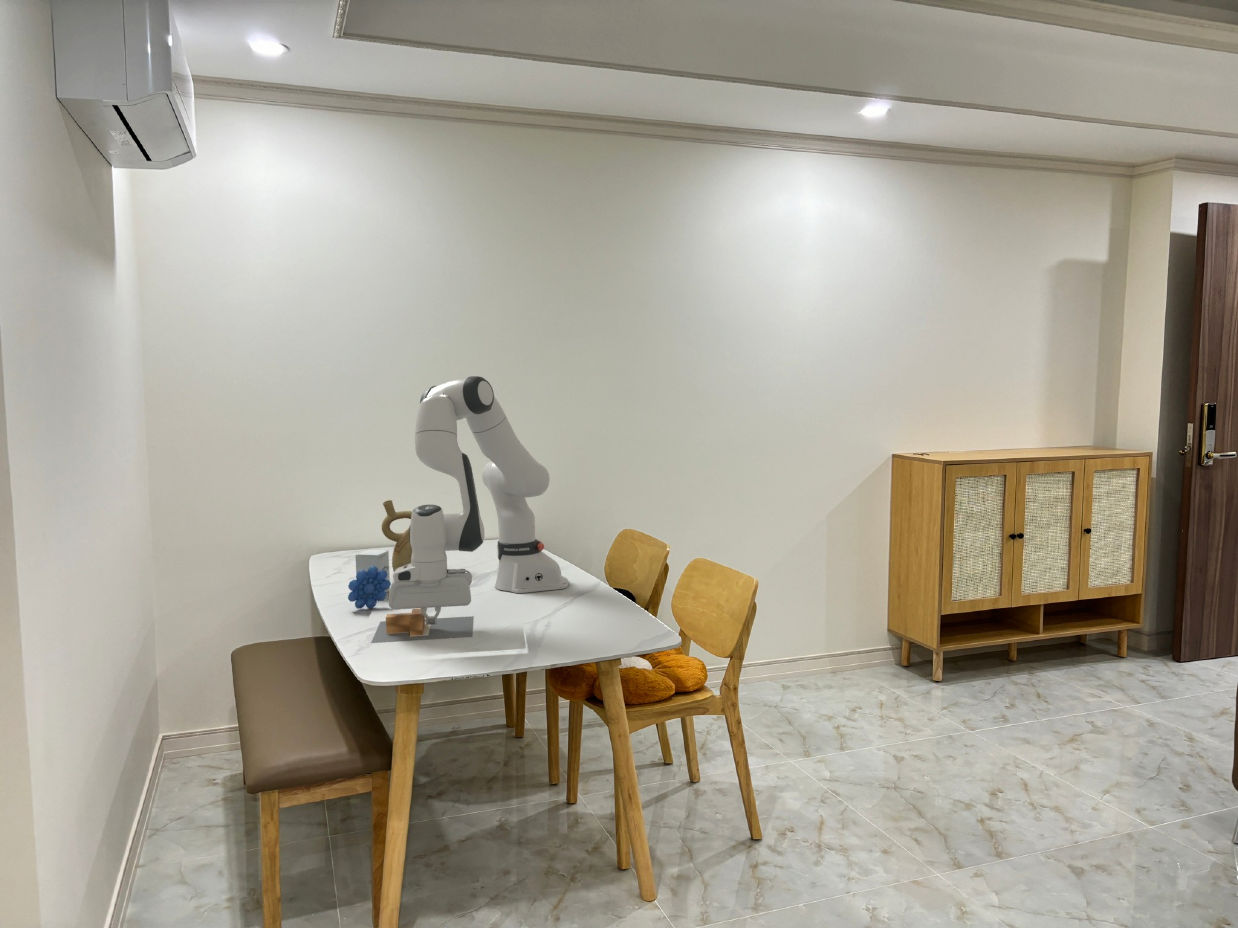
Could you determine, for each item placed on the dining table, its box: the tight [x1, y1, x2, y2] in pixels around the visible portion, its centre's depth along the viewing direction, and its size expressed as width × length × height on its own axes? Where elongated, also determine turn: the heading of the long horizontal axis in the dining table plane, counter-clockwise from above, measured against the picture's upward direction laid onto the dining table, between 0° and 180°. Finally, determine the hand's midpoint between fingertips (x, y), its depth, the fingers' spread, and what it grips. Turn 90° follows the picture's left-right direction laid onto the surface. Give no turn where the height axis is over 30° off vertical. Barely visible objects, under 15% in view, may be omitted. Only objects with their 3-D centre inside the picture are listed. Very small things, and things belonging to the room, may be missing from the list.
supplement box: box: [355, 549, 391, 593], centre depth 255 cm, size 7×7×13 cm
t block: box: [385, 608, 426, 636], centre depth 215 cm, size 9×10×4 cm
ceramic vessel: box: [381, 499, 413, 572], centre depth 278 cm, size 17×20×25 cm
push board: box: [370, 615, 474, 644], centre depth 216 cm, size 24×18×1 cm
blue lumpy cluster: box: [347, 566, 392, 610], centre depth 239 cm, size 12×7×12 cm, turn 110°
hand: (431, 624), depth 216 cm, fingers closed
